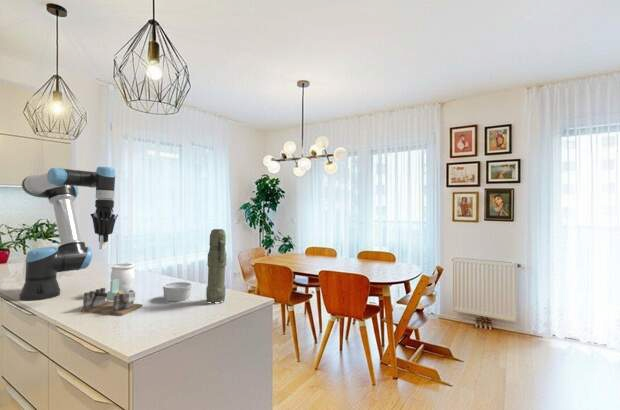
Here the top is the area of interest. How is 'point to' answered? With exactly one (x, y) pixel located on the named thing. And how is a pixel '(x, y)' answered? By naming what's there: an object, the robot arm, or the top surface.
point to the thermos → (216, 266)
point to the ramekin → (177, 291)
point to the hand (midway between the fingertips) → (103, 248)
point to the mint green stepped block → (113, 290)
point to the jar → (123, 276)
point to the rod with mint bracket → (109, 302)
